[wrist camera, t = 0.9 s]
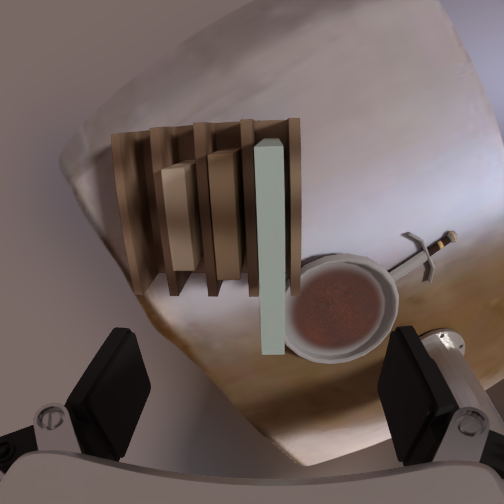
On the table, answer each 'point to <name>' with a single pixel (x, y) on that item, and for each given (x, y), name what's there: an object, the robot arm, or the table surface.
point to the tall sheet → (271, 242)
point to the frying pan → (347, 304)
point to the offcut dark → (228, 212)
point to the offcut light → (183, 215)
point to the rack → (200, 197)
